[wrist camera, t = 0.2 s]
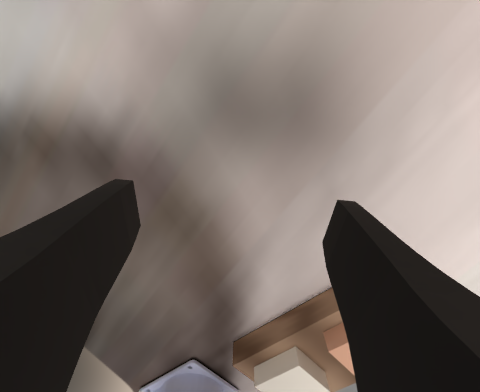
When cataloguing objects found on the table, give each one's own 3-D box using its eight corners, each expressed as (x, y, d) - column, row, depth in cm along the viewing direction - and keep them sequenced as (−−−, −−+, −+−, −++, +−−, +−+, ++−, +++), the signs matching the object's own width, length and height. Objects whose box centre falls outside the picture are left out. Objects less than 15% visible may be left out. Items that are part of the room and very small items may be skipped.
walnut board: (288, 385, 32) (292, 409, 30) (233, 342, 29) (232, 365, 26) (417, 327, 27) (432, 350, 25) (368, 267, 24) (381, 288, 22)
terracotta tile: (351, 359, 26) (358, 379, 24) (322, 332, 24) (328, 351, 23) (400, 337, 24) (411, 357, 23) (373, 307, 23) (383, 325, 21)
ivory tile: (284, 390, 28) (286, 410, 26) (254, 367, 27) (254, 386, 25) (324, 372, 27) (330, 391, 25) (295, 346, 25) (298, 365, 23)
